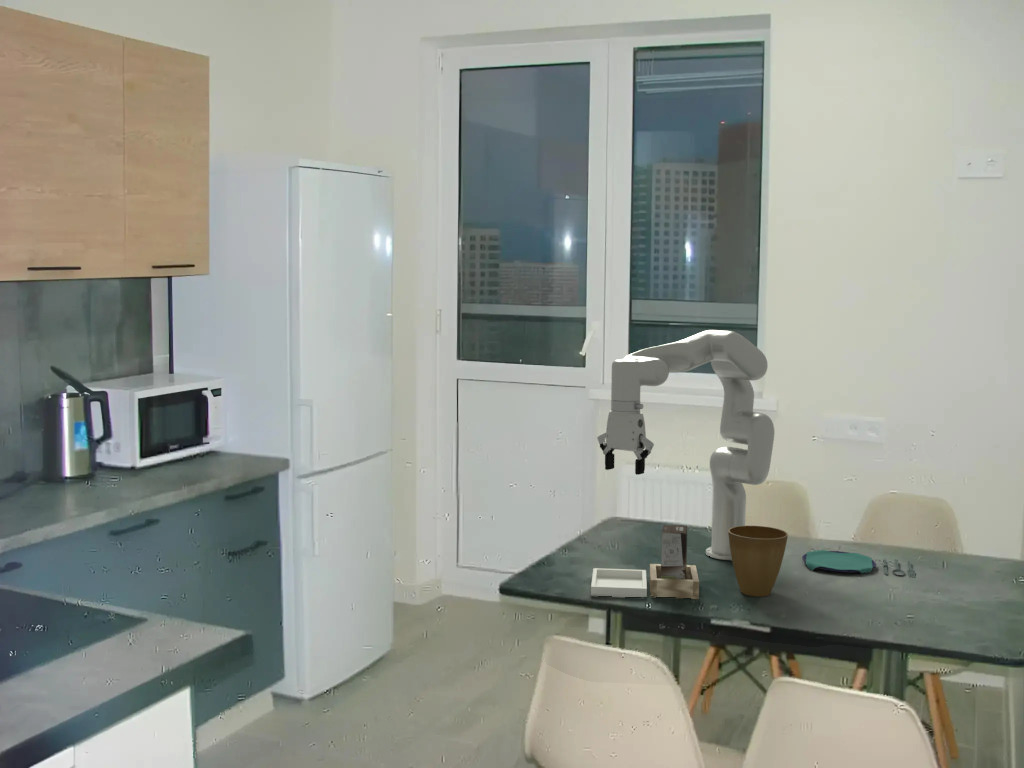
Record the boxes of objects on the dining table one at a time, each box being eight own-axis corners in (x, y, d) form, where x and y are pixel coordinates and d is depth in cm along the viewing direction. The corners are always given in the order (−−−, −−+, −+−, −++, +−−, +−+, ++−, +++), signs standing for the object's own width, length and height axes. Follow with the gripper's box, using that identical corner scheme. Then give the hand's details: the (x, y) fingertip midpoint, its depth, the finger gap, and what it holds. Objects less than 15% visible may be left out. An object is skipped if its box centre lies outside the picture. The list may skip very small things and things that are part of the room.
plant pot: (783, 604, 265) (785, 540, 264) (722, 597, 270) (724, 535, 268) (788, 587, 279) (790, 527, 278) (730, 581, 284) (731, 522, 282)
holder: (695, 581, 284) (695, 565, 283) (698, 599, 269) (699, 581, 268) (649, 580, 285) (649, 563, 284) (650, 597, 270) (650, 579, 270)
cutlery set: (802, 554, 313) (803, 546, 312) (912, 564, 304) (912, 556, 304) (800, 573, 294) (800, 565, 294) (916, 584, 285) (917, 576, 285)
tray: (645, 579, 286) (645, 569, 286) (646, 598, 269) (646, 588, 269) (593, 577, 288) (593, 568, 287) (590, 596, 271) (591, 586, 271)
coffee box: (685, 595, 272) (686, 533, 270) (659, 593, 273) (660, 532, 271) (686, 585, 281) (688, 525, 279) (662, 583, 282) (663, 523, 280)
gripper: (661, 408, 275) (660, 473, 277) (607, 402, 287) (606, 465, 289) (644, 411, 270) (643, 477, 272) (590, 405, 281) (589, 469, 283)
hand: (624, 471), depth 280 cm, fingers open, 9 cm apart
